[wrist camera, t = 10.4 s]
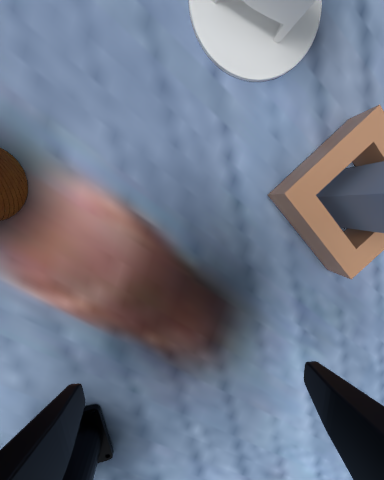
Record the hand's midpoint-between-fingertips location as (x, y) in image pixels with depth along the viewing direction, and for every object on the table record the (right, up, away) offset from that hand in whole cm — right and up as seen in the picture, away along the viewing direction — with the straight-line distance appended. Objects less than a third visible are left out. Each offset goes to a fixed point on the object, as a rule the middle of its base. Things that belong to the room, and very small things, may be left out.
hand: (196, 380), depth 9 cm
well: (+14, +10, +13) cm, 22 cm away
